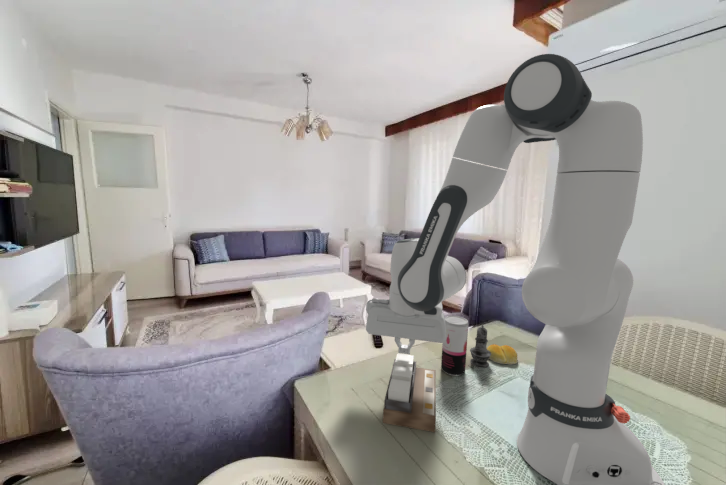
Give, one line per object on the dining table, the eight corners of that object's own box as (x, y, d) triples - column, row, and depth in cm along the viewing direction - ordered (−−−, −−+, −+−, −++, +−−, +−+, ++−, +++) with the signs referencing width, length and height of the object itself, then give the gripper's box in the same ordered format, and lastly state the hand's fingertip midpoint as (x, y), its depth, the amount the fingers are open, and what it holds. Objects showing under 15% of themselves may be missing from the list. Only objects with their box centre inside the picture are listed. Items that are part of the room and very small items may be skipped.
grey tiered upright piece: (486, 358, 95) (490, 321, 93) (492, 369, 89) (496, 329, 87) (467, 357, 95) (469, 320, 94) (471, 367, 90) (474, 328, 88)
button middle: (411, 377, 77) (412, 367, 76) (410, 387, 72) (410, 377, 72) (394, 374, 78) (394, 365, 77) (391, 384, 73) (392, 374, 73)
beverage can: (470, 373, 87) (473, 322, 84) (451, 378, 84) (454, 326, 82) (454, 362, 93) (457, 314, 90) (436, 366, 90) (439, 317, 88)
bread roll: (483, 350, 100) (484, 338, 100) (513, 354, 99) (514, 342, 98) (487, 363, 92) (489, 351, 92) (520, 367, 91) (521, 355, 90)
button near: (410, 391, 71) (410, 381, 70) (408, 404, 67) (408, 393, 66) (390, 388, 72) (391, 378, 71) (388, 400, 68) (388, 390, 67)
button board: (434, 380, 83) (435, 363, 82) (435, 432, 65) (436, 410, 64) (393, 374, 85) (394, 357, 85) (382, 422, 67) (383, 401, 66)
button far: (413, 364, 82) (413, 355, 82) (412, 373, 78) (412, 364, 78) (396, 362, 83) (397, 353, 83) (394, 371, 79) (395, 361, 79)
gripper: (363, 301, 77) (362, 353, 80) (448, 310, 73) (444, 364, 75) (368, 293, 83) (367, 342, 86) (447, 301, 79) (443, 352, 81)
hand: (404, 352), depth 80 cm, fingers closed
